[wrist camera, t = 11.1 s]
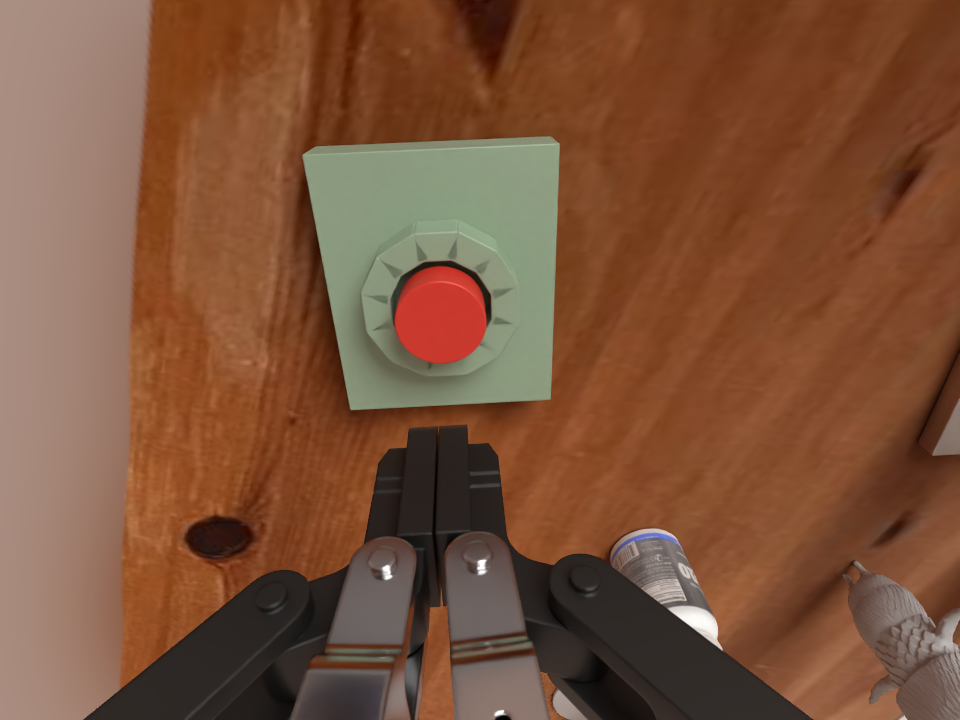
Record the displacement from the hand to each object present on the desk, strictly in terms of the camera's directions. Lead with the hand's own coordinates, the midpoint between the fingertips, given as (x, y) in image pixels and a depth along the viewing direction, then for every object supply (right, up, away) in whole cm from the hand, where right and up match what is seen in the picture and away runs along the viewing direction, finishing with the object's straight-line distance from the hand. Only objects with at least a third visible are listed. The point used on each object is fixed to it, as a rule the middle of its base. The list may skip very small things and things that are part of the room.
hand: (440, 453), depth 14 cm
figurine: (+27, -12, +24) cm, 38 cm away
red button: (-1, +5, +8) cm, 10 cm away
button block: (-1, +7, +12) cm, 13 cm away
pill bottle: (+12, -10, +22) cm, 27 cm away
